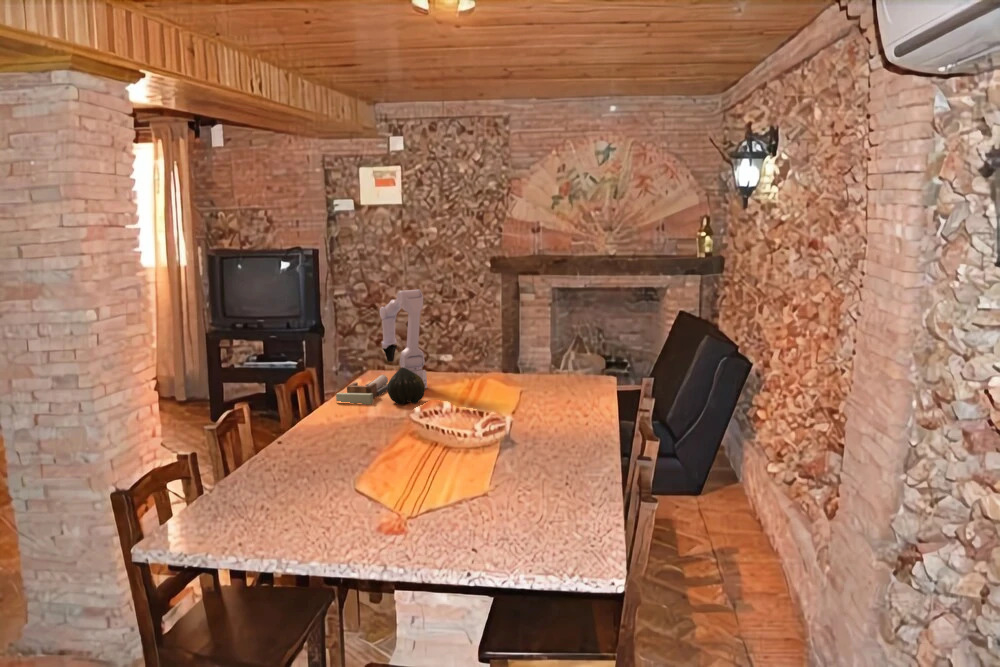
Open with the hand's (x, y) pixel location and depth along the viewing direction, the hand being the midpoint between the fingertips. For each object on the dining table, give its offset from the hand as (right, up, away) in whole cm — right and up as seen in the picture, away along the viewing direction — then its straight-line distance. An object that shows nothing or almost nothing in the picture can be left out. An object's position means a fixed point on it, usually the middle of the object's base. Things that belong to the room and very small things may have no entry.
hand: (390, 361), depth 357 cm
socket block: (-7, -15, -33) cm, 37 cm away
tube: (-4, -12, -16) cm, 20 cm away
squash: (+12, -16, -42) cm, 46 cm away
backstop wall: (-9, -16, -41) cm, 45 cm away
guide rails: (-4, -12, -16) cm, 21 cm away
